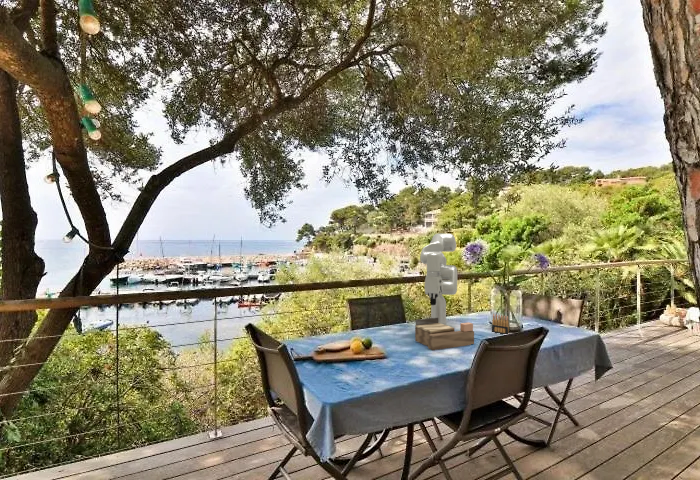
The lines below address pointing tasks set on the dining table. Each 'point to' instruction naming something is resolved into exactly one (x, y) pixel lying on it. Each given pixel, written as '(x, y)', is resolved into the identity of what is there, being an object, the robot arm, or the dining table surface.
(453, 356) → the dining table surface
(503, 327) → the ammunition clip
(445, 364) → the dining table surface
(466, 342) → the toolbox
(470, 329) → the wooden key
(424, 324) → the toolbox lid
